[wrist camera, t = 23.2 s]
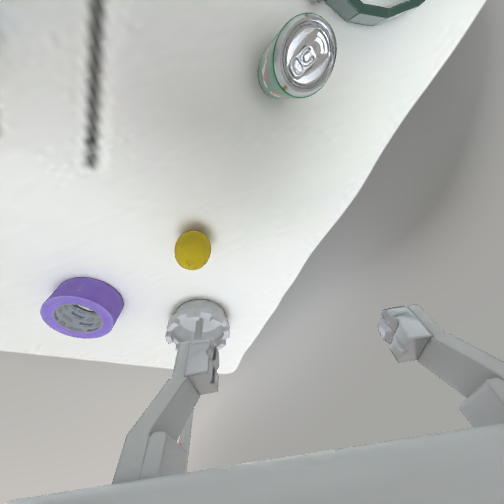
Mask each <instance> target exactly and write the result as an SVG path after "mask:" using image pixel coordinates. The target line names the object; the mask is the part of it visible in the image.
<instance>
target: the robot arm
mask: <svg viewBox="0 0 504 504" xmlns="http://www.w3.org/2000/svg"><path fill="white" fill-rule="evenodd" d="M381 315H382V318H381V319H380V320H379V322H378V330H379V332H380V335H381V336H382V338H383V340H385V341H386V342H388V343H389V344H390V348H389V349H390V350H391V352H392V354H393V355H394V357H395V358H396V360H397V361H398V362H406V361H414V360H418V362H419V363H421V364H422V365H423V366H425V367H426V368H427V369H429V370H430V371H431V372H433V373H434V374H435V375H437V376H438V377H439V378H441V379H442V380H443V381H445V382H446V383H447V384H449V385H450V386H451V387H453V388H454V389H455V390H457V391H458V392H459V393H461V394H462V395H464V396H465V397H466V398H467V399H466V400H465V401H464V402H463V403H462V404H461V405H460V410H461V411H462V413H463V414H464V416H465V417H466V418H467V420H468V421H469V422H470V424H471V425H472V426H473V428H467V429H460V430H454V431H447V432H441V433H435V434H428V435H423V436H416V437H410V438H403V439H397V440H390V441H384V442H378V443H372V444H365V445H359V446H352V447H346V448H340V449H334V450H327V451H320V452H314V453H308V454H301V455H295V456H289V457H283V458H276V459H270V460H263V461H257V462H251V463H244V464H238V465H231V466H226V467H219V468H213V469H207V470H200V471H193V472H188V473H185V464H186V454H187V452H186V450H185V449H184V448H183V447H182V446H181V445H180V444H179V443H177V442H176V441H177V439H178V437H179V435H180V433H181V431H182V430H183V428H184V426H185V424H186V422H187V420H188V418H189V416H190V414H191V413H192V411H193V409H194V407H195V405H196V403H197V401H198V399H199V397H200V395H202V394H207V393H212V392H217V391H218V380H219V376H218V374H217V371H216V370H217V369H218V367H219V353H218V349H217V347H216V346H214V340H213V338H205V339H199V340H191V341H185V342H180V344H179V346H178V351H177V356H176V361H175V366H174V370H173V376H172V379H169V380H168V381H167V382H166V384H165V385H164V386H163V388H162V389H161V390H160V391H159V393H158V394H157V395H156V397H155V398H154V400H153V401H152V402H151V404H150V405H149V406H148V408H147V409H146V410H145V412H144V413H143V414H142V416H141V417H140V418H139V420H138V421H137V422H136V424H135V425H134V426H133V428H132V429H131V430H130V432H129V433H128V434H127V436H126V439H125V443H124V446H123V449H122V452H121V456H120V459H119V462H118V465H117V469H116V472H115V475H114V479H113V482H112V484H111V485H104V486H98V487H92V488H86V489H79V490H73V491H66V492H60V493H54V494H48V495H41V496H35V497H28V498H21V499H16V500H11V501H9V502H6V503H4V504H504V361H502V360H500V359H498V358H496V357H494V356H492V355H490V354H488V353H486V352H484V351H482V350H480V349H478V348H476V347H474V346H473V345H471V344H469V343H467V342H465V341H463V340H461V339H459V338H457V337H455V336H453V335H451V334H446V333H445V332H444V331H443V330H442V329H441V328H440V327H439V326H438V325H437V323H436V322H435V321H434V320H433V319H432V318H431V317H430V316H429V315H428V314H427V313H426V312H425V311H424V310H423V308H422V307H420V306H419V305H417V304H413V305H407V306H400V307H394V308H389V309H384V310H382V312H381Z"/></svg>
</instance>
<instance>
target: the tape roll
mask: <svg viewBox="0 0 504 504" xmlns="http://www.w3.org/2000/svg"><path fill="white" fill-rule="evenodd" d="M76 305H81V306H84V307H87V308H89V309H91V310H93V311H94V312H96V313H94V312H89V311H85V310H83V309H80V308H79V307H77V306H76ZM122 309H123V299H122V297H121V295H120V294H119V293H118V292H117V290H115V289H114V288H113V287H112V286H110V285H108V284H106V283H104V282H102V281H99V280H96V279H92V278H84V277H79V278H72V279H69V280H66V281H65V282H63V283H62V284H61V285H60V286H59V287H58V288H57V289H56V290H55V291H54V293H53V294H52V295H51V296H50V297H49V298H48V299H47V300H46V301H45V302H44V303H43V305H42V307H41V310H40V313H41V316H42V319H43V320H44V321H45V323H46V324H47V325H49V326H50V327H51V328H53V329H54V330H56V331H58V332H60V333H62V334H65V335H68V336H72V337H77V338H98V337H101V336H104V335H106V334H107V333H109V332H110V331H111V330H112V328H113V326H114V324H115V322H116V320H117V318H118V316H119V315H120V313H121V311H122Z"/></svg>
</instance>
